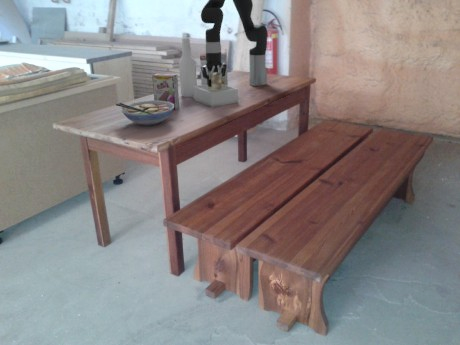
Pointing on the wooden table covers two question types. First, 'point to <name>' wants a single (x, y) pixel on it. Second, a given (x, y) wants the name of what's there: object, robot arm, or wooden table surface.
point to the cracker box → (224, 78)
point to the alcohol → (187, 70)
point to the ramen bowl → (147, 111)
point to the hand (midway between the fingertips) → (214, 85)
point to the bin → (215, 95)
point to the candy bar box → (166, 88)
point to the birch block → (215, 82)
